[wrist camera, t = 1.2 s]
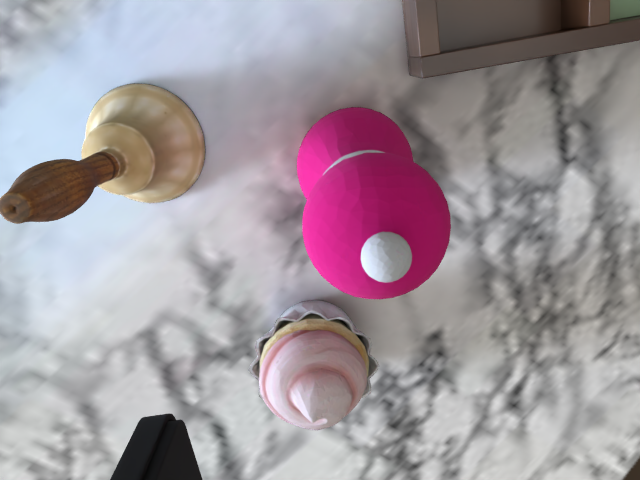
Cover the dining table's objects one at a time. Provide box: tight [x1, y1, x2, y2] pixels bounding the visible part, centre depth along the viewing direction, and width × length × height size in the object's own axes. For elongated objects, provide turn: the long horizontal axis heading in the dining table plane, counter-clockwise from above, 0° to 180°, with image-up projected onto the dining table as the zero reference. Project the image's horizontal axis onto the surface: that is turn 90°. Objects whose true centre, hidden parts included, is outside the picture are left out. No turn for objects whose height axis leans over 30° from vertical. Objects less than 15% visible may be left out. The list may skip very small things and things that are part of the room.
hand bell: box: [0, 84, 205, 224], centre depth 27 cm, size 8×8×16 cm
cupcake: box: [248, 300, 379, 430], centre depth 36 cm, size 9×9×10 cm
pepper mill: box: [297, 107, 451, 299], centre depth 26 cm, size 7×7×20 cm
